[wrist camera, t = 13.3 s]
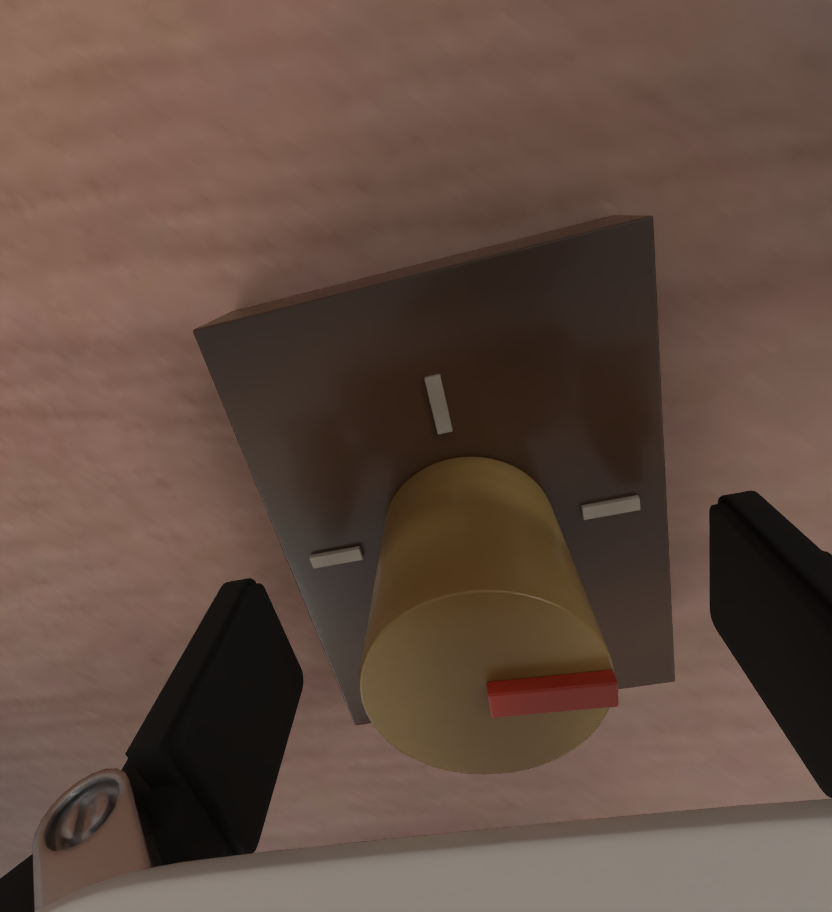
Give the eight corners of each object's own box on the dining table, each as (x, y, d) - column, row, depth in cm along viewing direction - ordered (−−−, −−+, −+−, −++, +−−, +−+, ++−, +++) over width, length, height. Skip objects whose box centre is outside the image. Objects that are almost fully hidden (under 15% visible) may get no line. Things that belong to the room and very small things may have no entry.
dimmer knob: (401, 608, 15) (384, 799, 10) (368, 469, 13) (328, 621, 8) (559, 589, 14) (622, 781, 9) (548, 443, 12) (619, 588, 8)
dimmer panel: (231, 311, 14) (188, 331, 11) (614, 214, 13) (657, 214, 10) (364, 665, 19) (354, 730, 17) (645, 622, 18) (678, 686, 15)
